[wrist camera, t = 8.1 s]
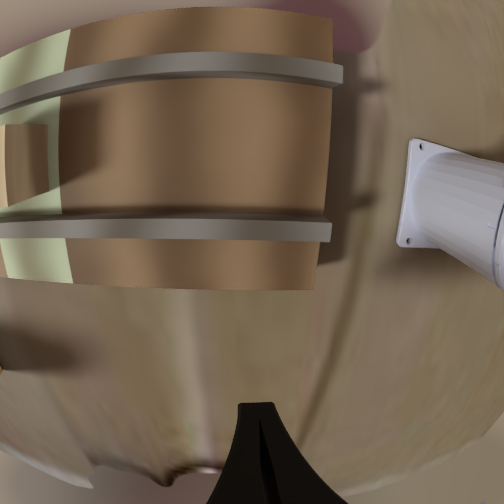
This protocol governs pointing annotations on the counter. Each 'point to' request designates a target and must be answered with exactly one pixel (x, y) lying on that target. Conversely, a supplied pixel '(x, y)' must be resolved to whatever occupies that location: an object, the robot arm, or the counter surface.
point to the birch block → (23, 162)
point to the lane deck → (175, 150)
